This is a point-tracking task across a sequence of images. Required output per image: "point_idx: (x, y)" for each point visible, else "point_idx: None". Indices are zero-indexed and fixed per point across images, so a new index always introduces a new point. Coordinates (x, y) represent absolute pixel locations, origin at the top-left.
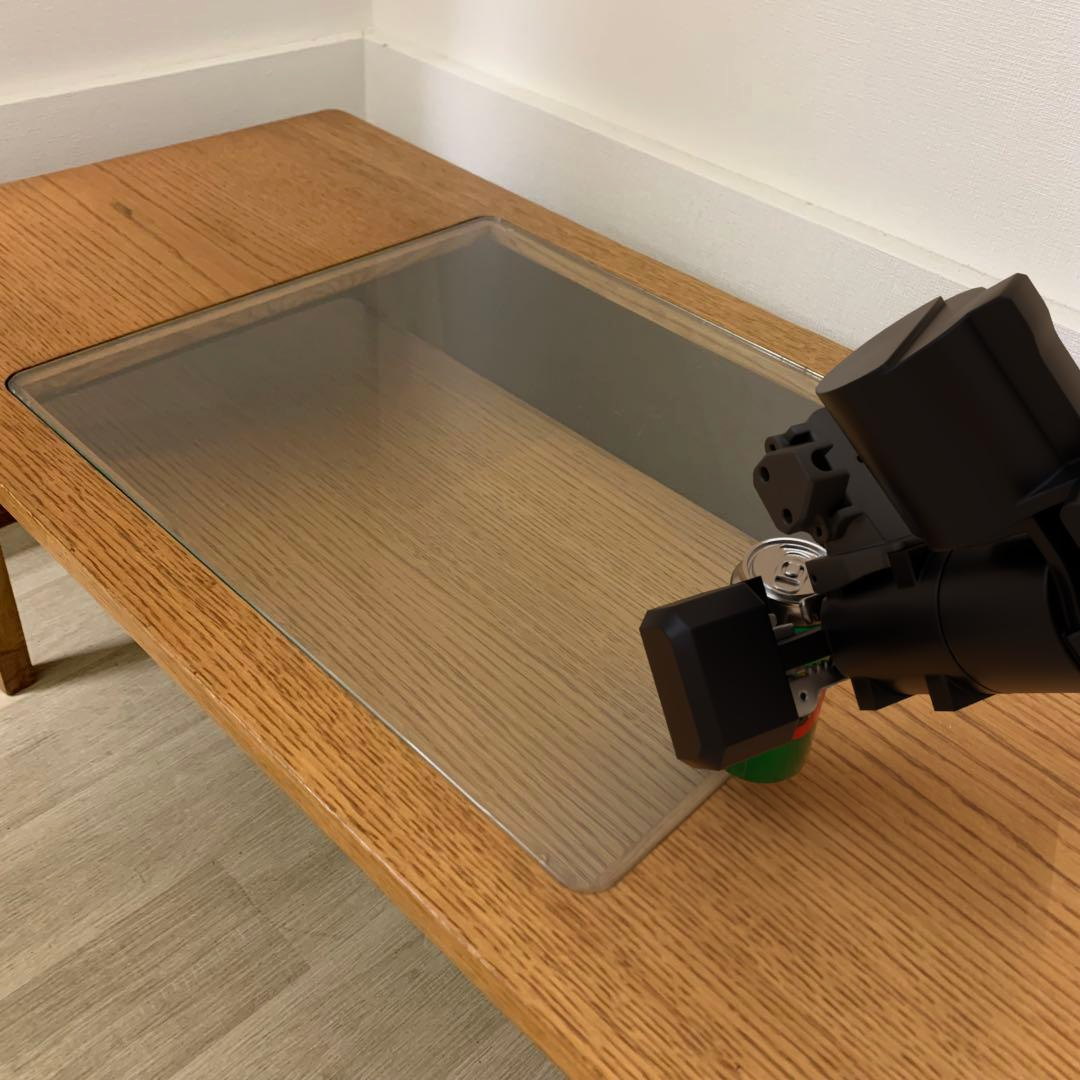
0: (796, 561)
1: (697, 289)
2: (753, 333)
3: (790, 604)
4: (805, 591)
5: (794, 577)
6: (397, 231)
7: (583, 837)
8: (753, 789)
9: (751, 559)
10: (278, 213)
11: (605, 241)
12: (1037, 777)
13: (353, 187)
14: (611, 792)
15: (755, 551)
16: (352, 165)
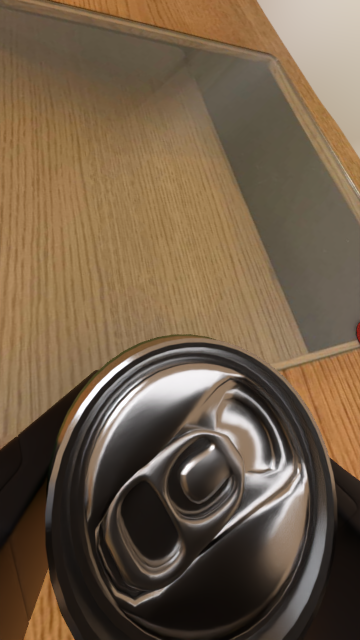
0: (232, 455)
1: (339, 136)
2: (350, 168)
3: None
4: (170, 614)
5: (192, 501)
6: (229, 38)
7: (11, 404)
8: None
9: (147, 368)
10: (185, 2)
11: (315, 94)
12: None
13: (227, 13)
14: (59, 381)
15: (172, 353)
16: (234, 5)
